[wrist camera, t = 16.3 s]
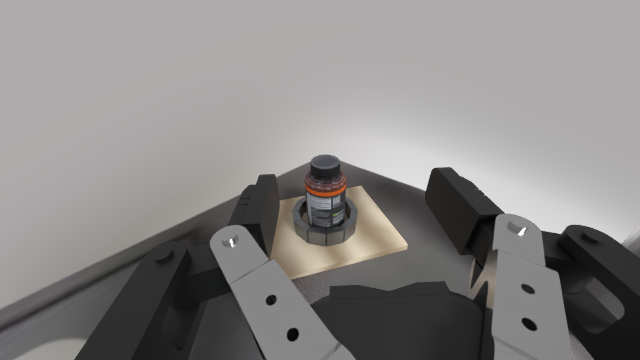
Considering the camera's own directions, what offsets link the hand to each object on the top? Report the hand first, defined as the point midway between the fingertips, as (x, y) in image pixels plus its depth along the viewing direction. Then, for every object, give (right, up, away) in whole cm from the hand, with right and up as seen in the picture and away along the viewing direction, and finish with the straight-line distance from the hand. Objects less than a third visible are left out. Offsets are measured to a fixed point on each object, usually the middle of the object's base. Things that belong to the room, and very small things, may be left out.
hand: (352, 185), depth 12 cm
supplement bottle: (-1, -7, +25) cm, 26 cm away
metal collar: (-1, -7, +25) cm, 27 cm away
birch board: (-1, -7, +25) cm, 27 cm away
